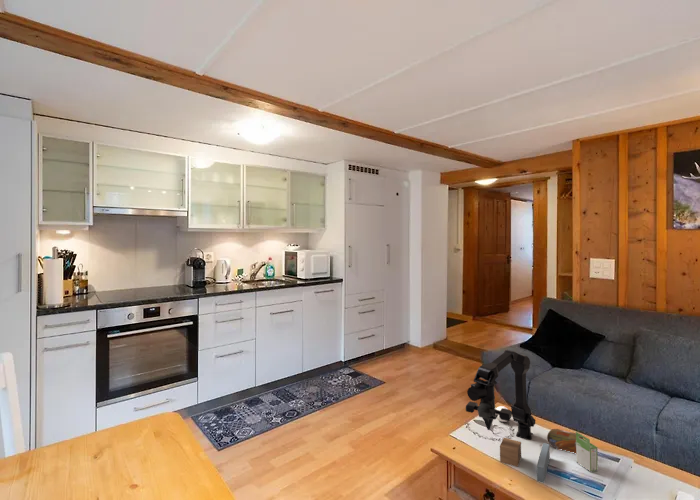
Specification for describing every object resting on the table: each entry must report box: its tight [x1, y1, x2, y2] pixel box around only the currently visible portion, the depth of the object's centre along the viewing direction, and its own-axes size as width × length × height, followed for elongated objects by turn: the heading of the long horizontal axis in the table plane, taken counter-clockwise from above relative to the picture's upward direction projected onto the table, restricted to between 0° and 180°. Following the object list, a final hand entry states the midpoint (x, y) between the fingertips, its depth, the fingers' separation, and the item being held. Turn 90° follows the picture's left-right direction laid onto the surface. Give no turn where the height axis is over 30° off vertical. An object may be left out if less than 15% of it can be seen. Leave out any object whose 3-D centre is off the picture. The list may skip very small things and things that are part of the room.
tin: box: [546, 428, 584, 454], centre depth 163 cm, size 15×3×8 cm, turn 53°
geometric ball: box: [495, 405, 508, 423], centre depth 192 cm, size 8×8×8 cm
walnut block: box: [499, 437, 522, 468], centre depth 157 cm, size 8×7×7 cm
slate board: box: [536, 442, 551, 484], centre depth 150 cm, size 20×2×6 cm, turn 145°
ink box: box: [575, 431, 599, 472], centre depth 151 cm, size 7×4×13 cm, turn 12°
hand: (488, 429), depth 162 cm, fingers closed
